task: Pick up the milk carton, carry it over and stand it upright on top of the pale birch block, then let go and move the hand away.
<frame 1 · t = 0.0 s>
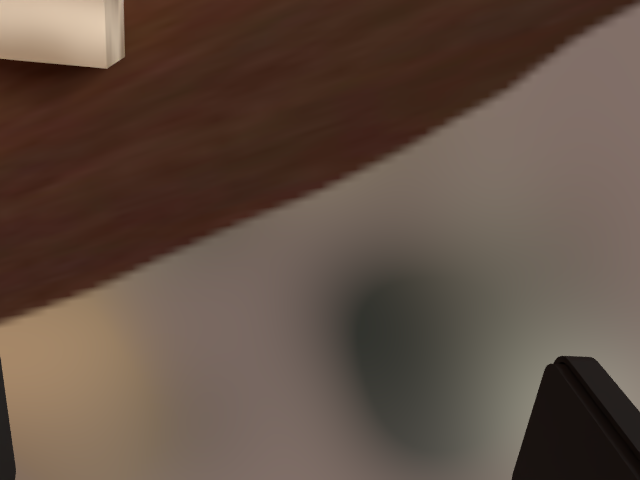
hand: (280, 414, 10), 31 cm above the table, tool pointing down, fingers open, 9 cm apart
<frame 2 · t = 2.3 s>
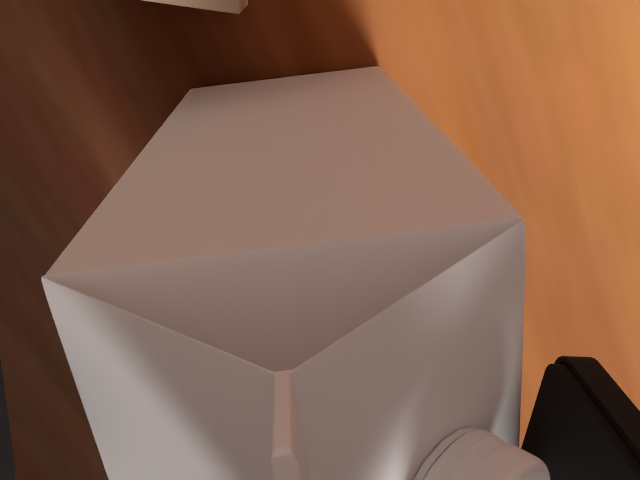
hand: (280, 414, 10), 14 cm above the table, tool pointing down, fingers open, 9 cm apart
milk carton: (296, 165, 24), on the table, touching gripper
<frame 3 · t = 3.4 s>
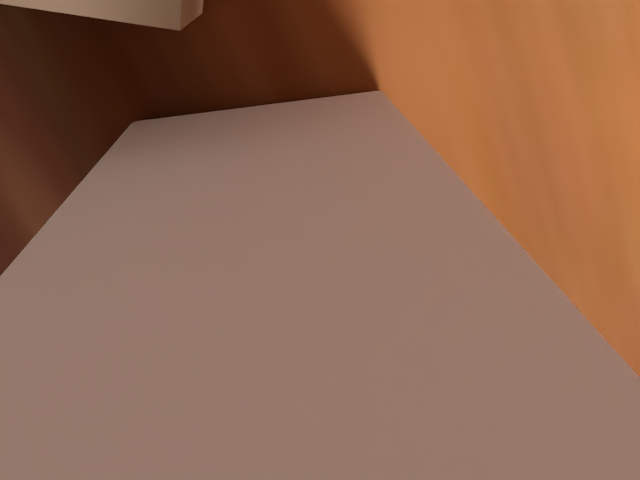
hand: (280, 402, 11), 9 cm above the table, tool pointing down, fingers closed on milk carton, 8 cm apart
milk carton: (275, 216, 19), on the table, touching gripper
when the fingers open (15 cm above the table, at t = 11.5 s): milk carton moves 2 cm, point 5 cm above the table.
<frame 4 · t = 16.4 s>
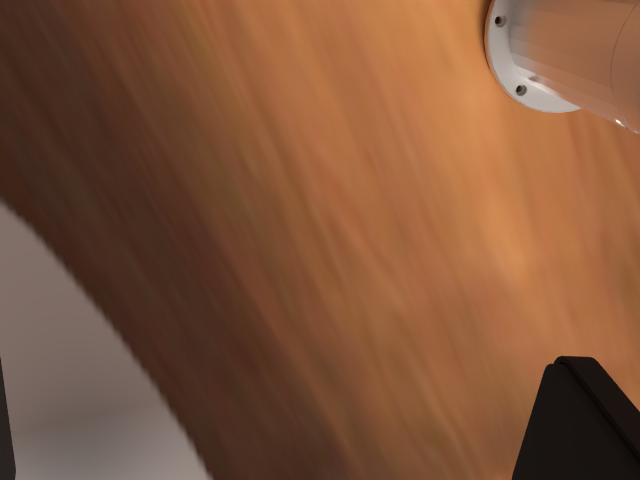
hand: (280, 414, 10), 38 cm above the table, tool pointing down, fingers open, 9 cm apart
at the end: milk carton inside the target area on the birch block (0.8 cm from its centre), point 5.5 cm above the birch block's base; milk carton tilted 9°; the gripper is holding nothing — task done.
